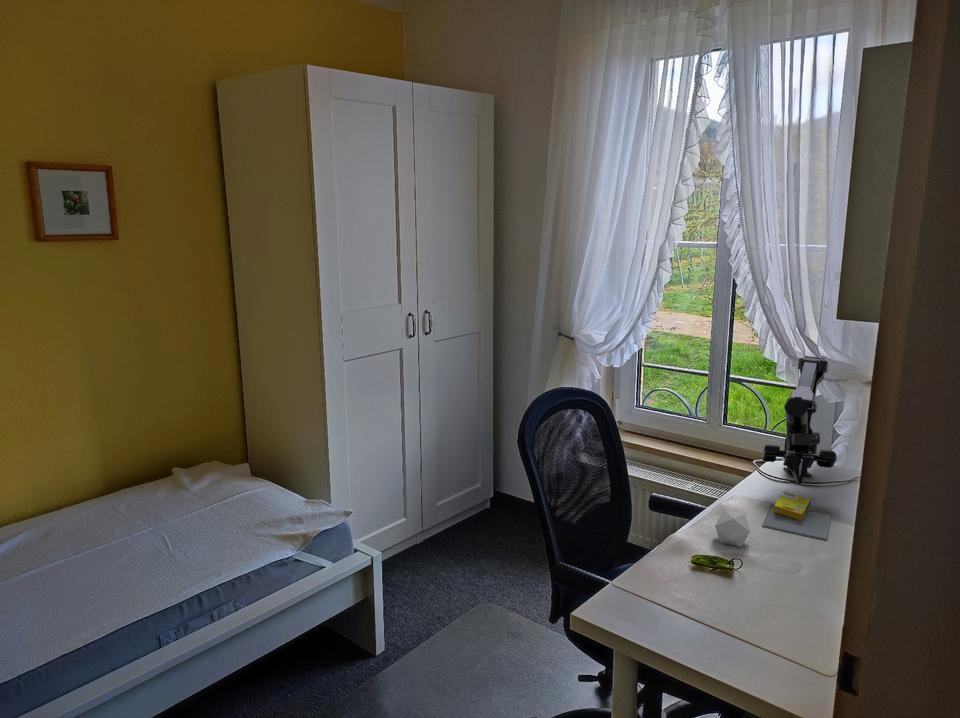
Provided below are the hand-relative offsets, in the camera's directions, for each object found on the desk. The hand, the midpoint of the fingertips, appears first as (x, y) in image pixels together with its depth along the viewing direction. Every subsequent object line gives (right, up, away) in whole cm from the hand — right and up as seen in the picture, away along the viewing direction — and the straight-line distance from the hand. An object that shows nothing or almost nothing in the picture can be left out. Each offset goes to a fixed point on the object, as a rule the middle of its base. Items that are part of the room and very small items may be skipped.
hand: (799, 483), depth 192 cm
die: (-26, -12, -19) cm, 34 cm away
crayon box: (0, -5, +2) cm, 5 cm away
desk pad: (-4, -9, -7) cm, 12 cm away
